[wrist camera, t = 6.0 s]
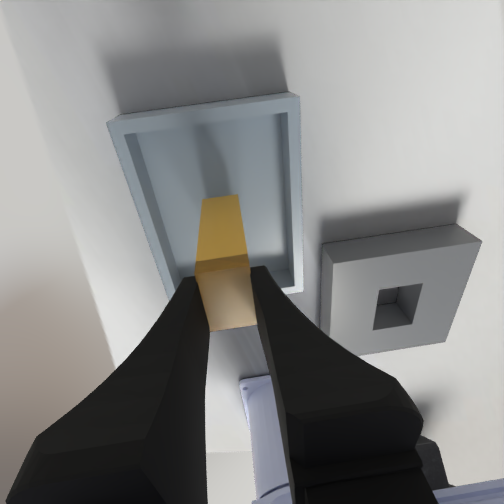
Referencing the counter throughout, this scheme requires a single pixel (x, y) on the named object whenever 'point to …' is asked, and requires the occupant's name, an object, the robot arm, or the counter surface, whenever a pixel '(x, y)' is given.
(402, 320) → the socket block
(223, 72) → the counter surface
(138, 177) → the parts tray
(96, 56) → the counter surface
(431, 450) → the tool
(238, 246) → the block
